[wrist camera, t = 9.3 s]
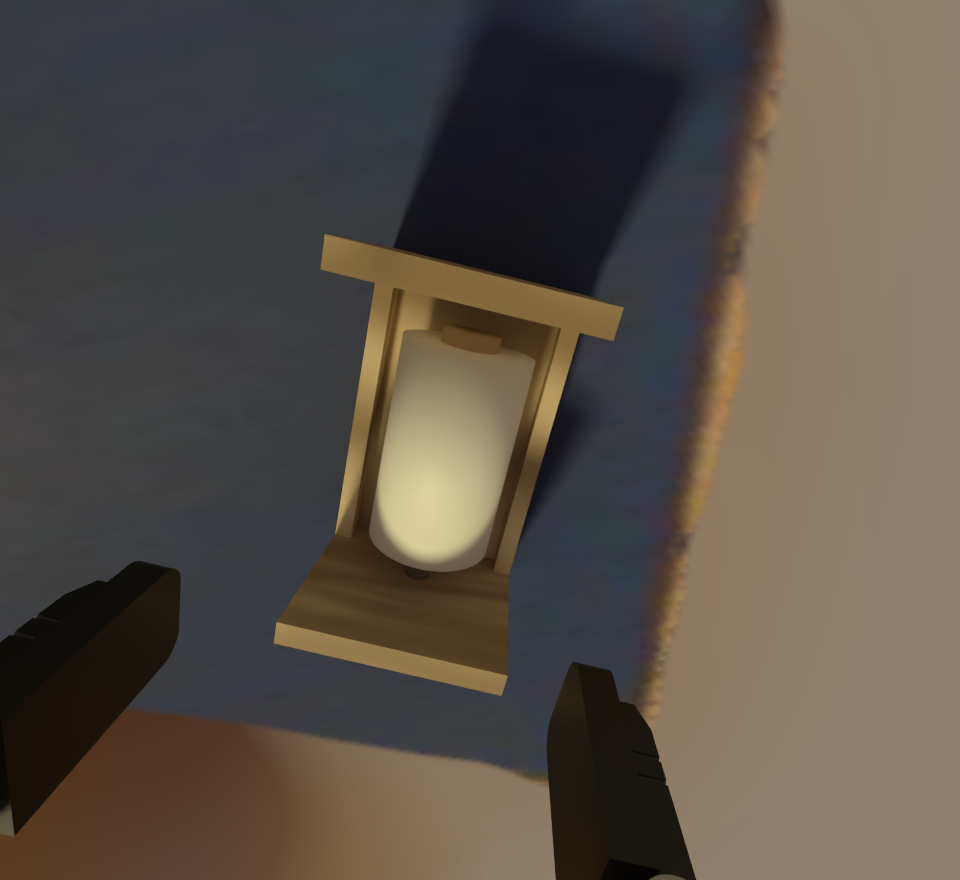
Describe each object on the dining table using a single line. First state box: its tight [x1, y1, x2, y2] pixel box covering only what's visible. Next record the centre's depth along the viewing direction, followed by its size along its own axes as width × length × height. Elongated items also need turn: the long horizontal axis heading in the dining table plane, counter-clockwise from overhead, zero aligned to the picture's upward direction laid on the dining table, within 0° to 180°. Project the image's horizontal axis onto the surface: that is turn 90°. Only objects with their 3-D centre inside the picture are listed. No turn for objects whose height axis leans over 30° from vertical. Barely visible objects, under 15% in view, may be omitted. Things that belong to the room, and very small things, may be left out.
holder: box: [274, 234, 624, 696], centre depth 22 cm, size 15×9×9 cm, turn 167°
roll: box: [369, 325, 535, 572], centre depth 22 cm, size 10×6×6 cm, turn 167°
